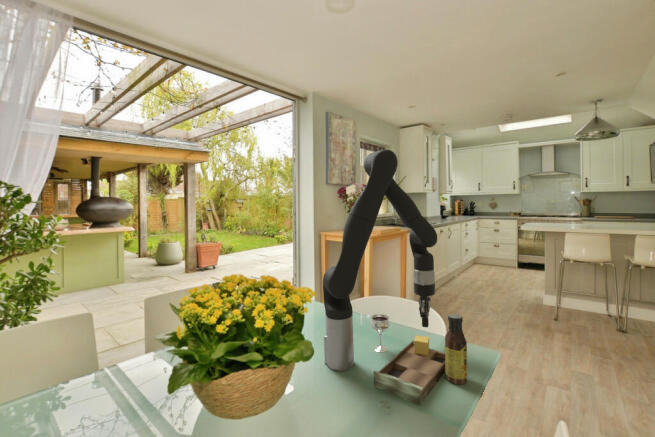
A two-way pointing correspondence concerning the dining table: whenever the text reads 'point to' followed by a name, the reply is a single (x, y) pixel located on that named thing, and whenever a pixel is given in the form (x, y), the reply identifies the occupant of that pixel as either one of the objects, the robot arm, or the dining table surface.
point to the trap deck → (411, 374)
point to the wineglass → (380, 328)
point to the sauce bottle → (455, 351)
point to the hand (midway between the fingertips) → (425, 326)
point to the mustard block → (421, 345)
